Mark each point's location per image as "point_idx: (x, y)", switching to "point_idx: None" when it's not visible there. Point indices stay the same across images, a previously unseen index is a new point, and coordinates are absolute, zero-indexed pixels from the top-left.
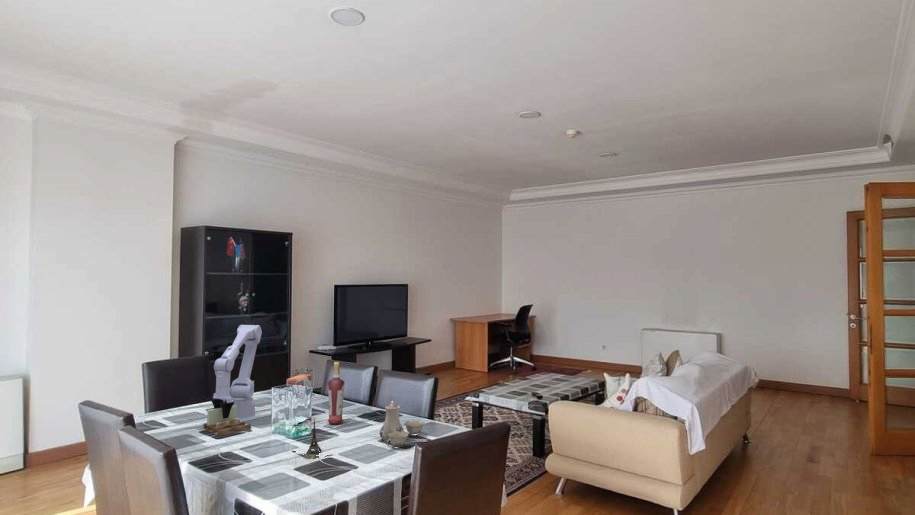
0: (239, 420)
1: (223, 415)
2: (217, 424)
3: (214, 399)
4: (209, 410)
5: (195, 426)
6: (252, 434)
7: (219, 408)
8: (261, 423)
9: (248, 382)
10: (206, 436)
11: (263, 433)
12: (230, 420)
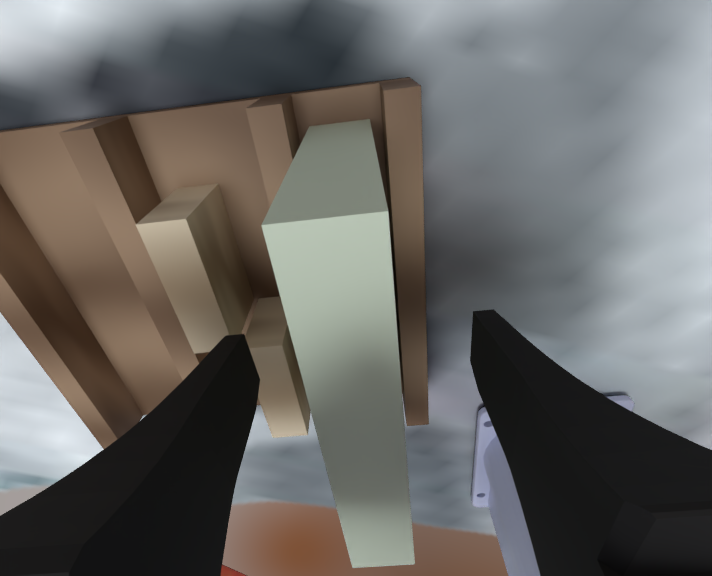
0: None
1: (200, 362)
2: (143, 219)
3: (708, 561)
4: (293, 234)
5: (652, 31)
6: (5, 388)
7: (359, 418)
8: (301, 487)
9: None
10: (38, 12)
11: (17, 439)
12: None
